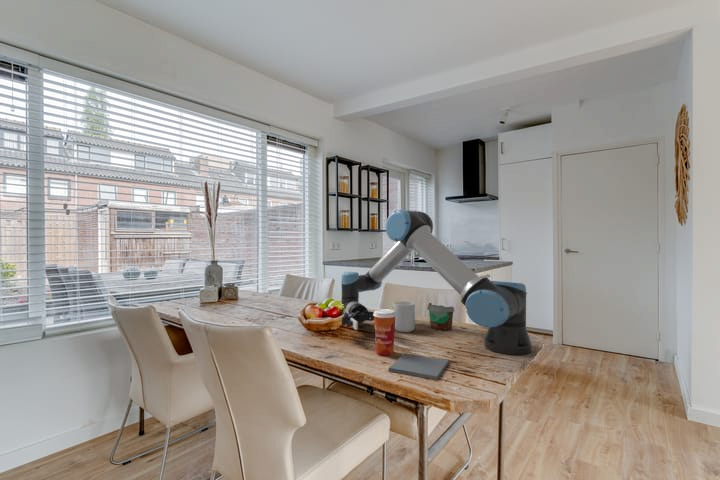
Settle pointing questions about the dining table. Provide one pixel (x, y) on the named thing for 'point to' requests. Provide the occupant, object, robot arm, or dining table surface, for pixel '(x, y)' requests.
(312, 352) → the dining table surface
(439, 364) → the pad
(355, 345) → the dining table surface
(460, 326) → the dining table surface
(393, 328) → the paper cup
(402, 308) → the mug
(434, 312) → the food container
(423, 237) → the robot arm
